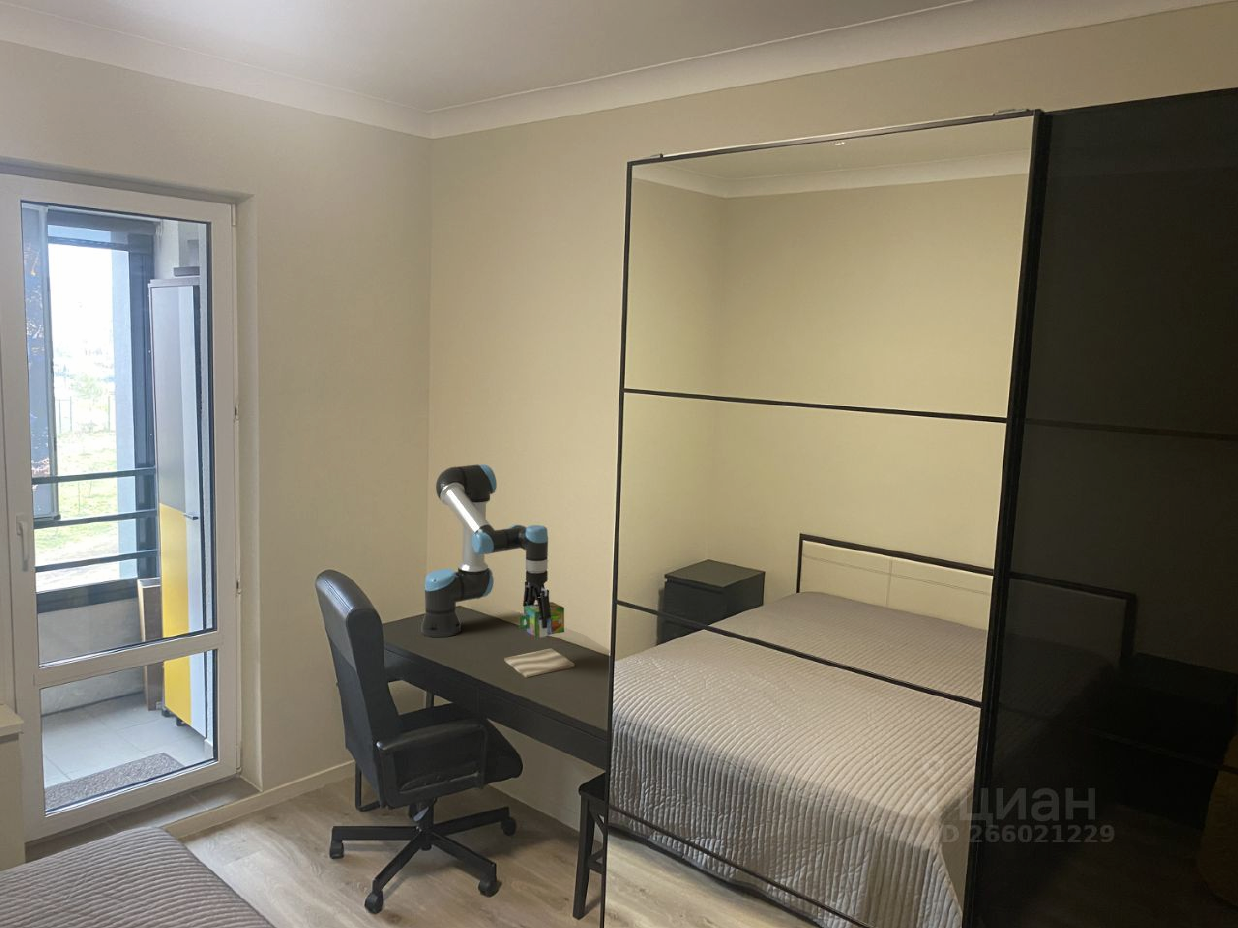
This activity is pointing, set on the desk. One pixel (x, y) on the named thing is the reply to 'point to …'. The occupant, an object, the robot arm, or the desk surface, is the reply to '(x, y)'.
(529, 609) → the chalk box
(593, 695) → the desk surface
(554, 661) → the birch board
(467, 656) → the desk surface
